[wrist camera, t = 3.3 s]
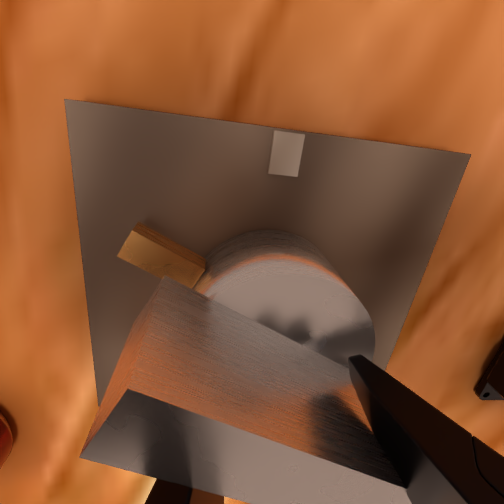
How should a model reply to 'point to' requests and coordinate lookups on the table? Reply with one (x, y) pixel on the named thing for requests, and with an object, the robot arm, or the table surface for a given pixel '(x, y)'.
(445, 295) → the table surface
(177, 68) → the table surface
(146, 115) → the post base
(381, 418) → the robot arm
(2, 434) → the soda can
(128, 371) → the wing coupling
